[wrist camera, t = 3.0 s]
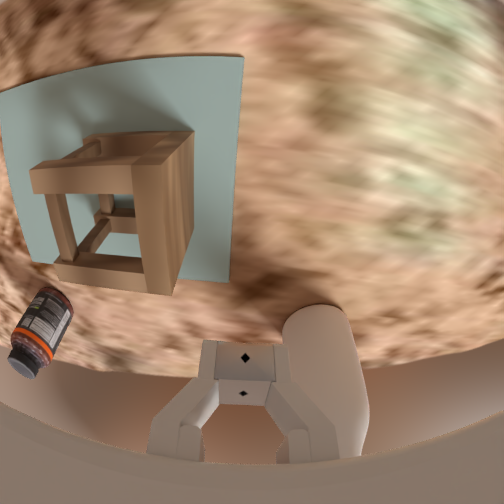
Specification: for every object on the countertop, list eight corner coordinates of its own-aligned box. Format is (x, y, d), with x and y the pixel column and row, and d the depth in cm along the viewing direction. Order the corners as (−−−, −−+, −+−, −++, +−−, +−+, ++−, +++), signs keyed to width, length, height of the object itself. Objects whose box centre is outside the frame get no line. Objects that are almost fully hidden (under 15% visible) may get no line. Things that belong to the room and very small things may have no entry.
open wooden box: (194, 131, 20) (160, 165, 13) (194, 228, 25) (171, 295, 18) (92, 134, 20) (28, 170, 13) (103, 222, 24) (59, 280, 17)
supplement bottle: (61, 321, 34) (29, 385, 25) (33, 292, 31) (-5, 354, 21) (83, 312, 32) (49, 384, 23) (52, 279, 29) (9, 349, 20)
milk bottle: (268, 319, 32) (273, 505, 15) (332, 291, 29) (374, 487, 13) (300, 352, 35) (313, 506, 19) (356, 329, 33) (392, 488, 16)
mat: (244, 57, 17) (244, 57, 17) (229, 280, 28) (228, 282, 28) (0, 92, 16) (-2, 93, 16) (34, 259, 28) (32, 261, 27)
